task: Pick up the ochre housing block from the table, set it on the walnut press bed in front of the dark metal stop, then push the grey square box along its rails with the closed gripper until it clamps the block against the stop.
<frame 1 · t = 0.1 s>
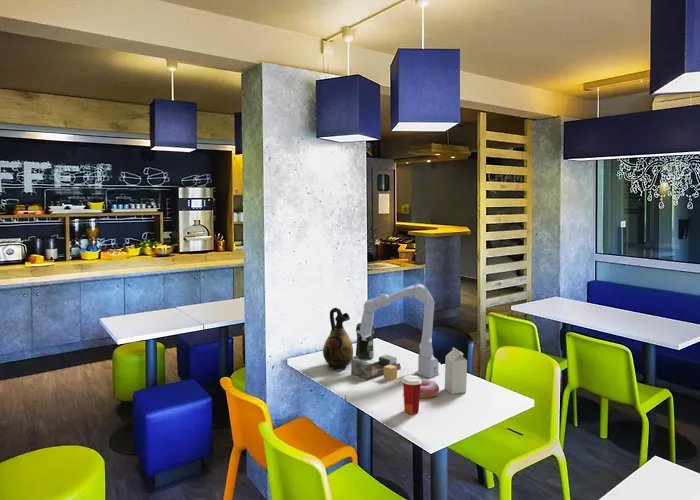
hand: (362, 350, 254), 10 cm above the table, tool pointing down, fingers open, 7 cm apart
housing: (390, 378, 245), on the table
paper cup: (411, 412, 207), on the table
donut: (422, 394, 227), on the table
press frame: (376, 371, 254), on the table
milk carton: (455, 391, 230), on the table
ceramic jug: (337, 367, 261), on the table
coffee jar: (364, 357, 277), on the table
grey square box: (387, 361, 259), point 4 cm above the table, slide at 0.0 cm
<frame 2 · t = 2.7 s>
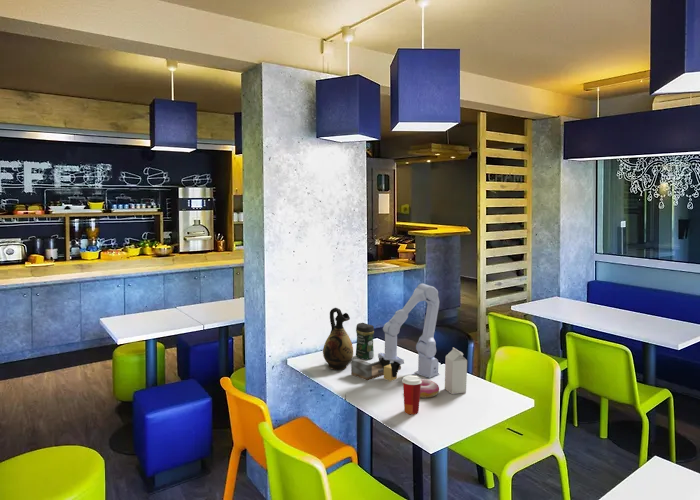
hand: (390, 375, 244), 2 cm above the table, tool pointing down, fingers closed on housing, 4 cm apart
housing: (390, 378, 245), on the table, touching gripper
everything else where it was.
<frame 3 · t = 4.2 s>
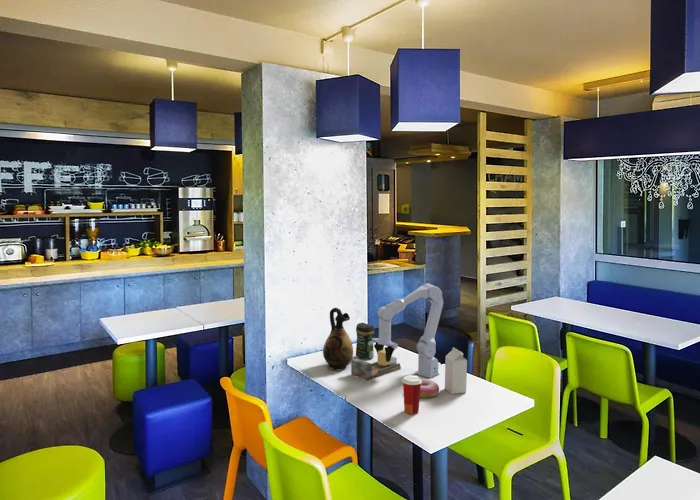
hand: (384, 360, 245), 9 cm above the table, tool pointing down, fingers closed on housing, 4 cm apart
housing: (384, 363, 245), point 7 cm above the table, touching gripper
everything else where it was.
when the fingers open (5 cm above the table, at t = 6.2 s): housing drops 1 cm, resting on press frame.
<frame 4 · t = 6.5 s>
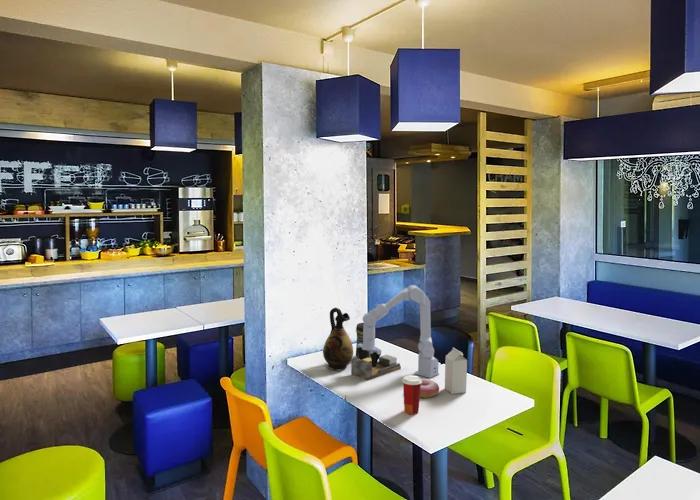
hand: (368, 365, 250), 5 cm above the table, tool pointing down, fingers open, 7 cm apart
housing: (368, 371, 250), point 1 cm above the table, touching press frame
everything else where it was.
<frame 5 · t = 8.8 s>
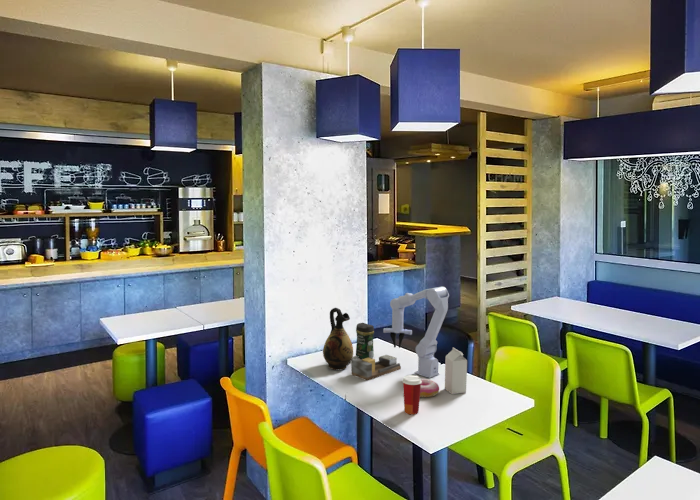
hand: (397, 347, 264), 9 cm above the table, tool pointing down, fingers closed
nothing on the table moved.
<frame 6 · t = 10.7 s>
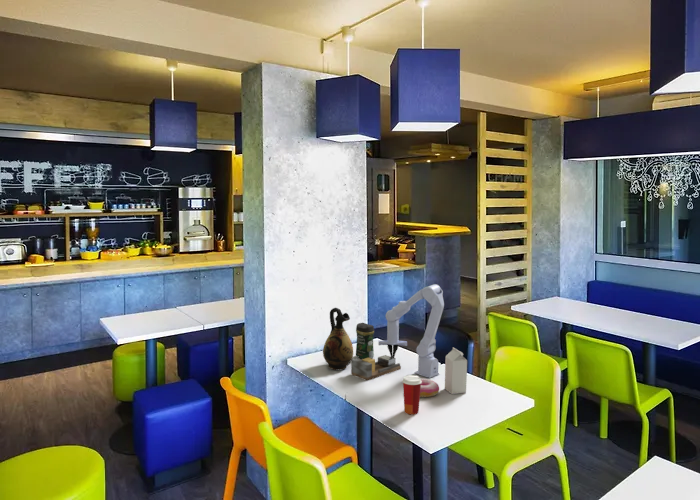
hand: (392, 359, 262), 4 cm above the table, tool pointing down, fingers closed
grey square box: (386, 361, 259), point 4 cm above the table, slide at 0.8 cm, touching gripper
everything else where it was.
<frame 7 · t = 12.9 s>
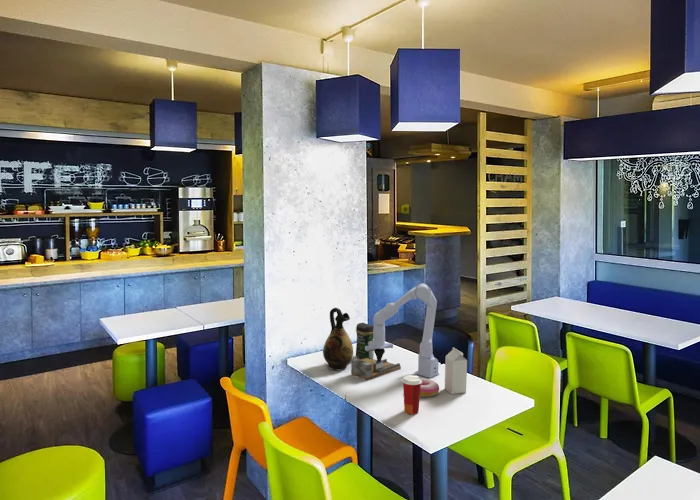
hand: (378, 363, 255), 4 cm above the table, tool pointing down, fingers closed, pressing on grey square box
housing: (366, 372, 249), point 2 cm above the table, touching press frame, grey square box
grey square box: (374, 365, 252), point 4 cm above the table, slide at 9.9 cm, touching gripper, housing
everything else where it was.
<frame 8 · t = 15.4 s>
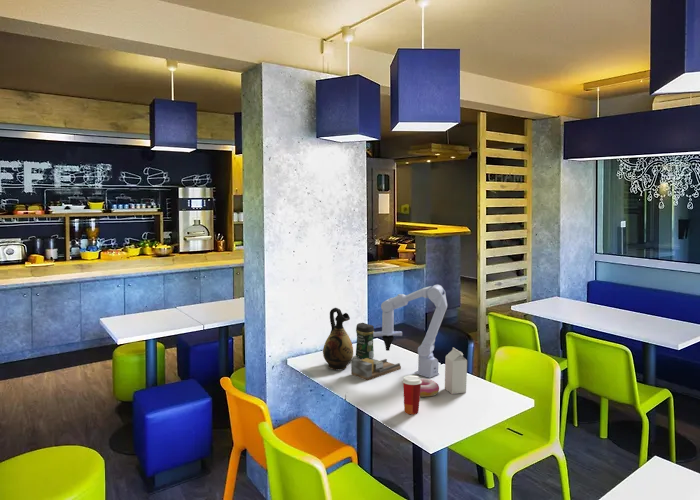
hand: (387, 350, 258), 9 cm above the table, tool pointing down, fingers closed
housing: (366, 372, 249), point 1 cm above the table, touching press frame
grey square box: (374, 365, 252), point 4 cm above the table, slide at 9.9 cm
everything else where it was.
at the end: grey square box slide at 9.9 cm; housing 0.8 cm from the target spot on the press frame, point 1.5 cm above the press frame's base; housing tilted 0° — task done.
